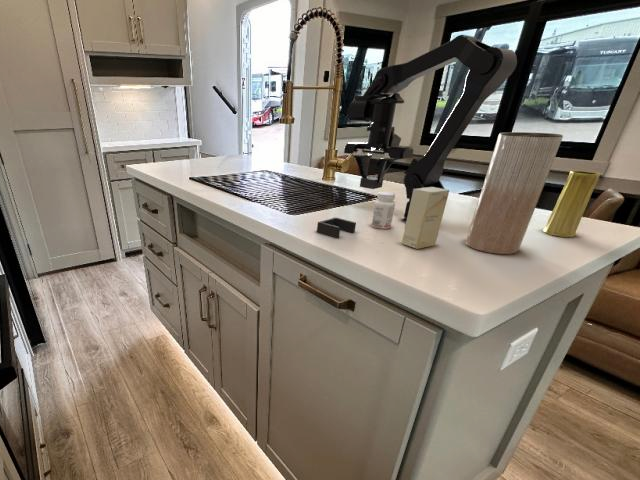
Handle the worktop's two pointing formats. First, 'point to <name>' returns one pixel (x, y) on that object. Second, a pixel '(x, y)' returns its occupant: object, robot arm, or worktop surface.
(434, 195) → the cosmetic box
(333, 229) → the dark grey u-shaped bracket
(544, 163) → the planter
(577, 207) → the vase
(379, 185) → the loose pad
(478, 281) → the worktop surface
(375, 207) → the pill bottle
